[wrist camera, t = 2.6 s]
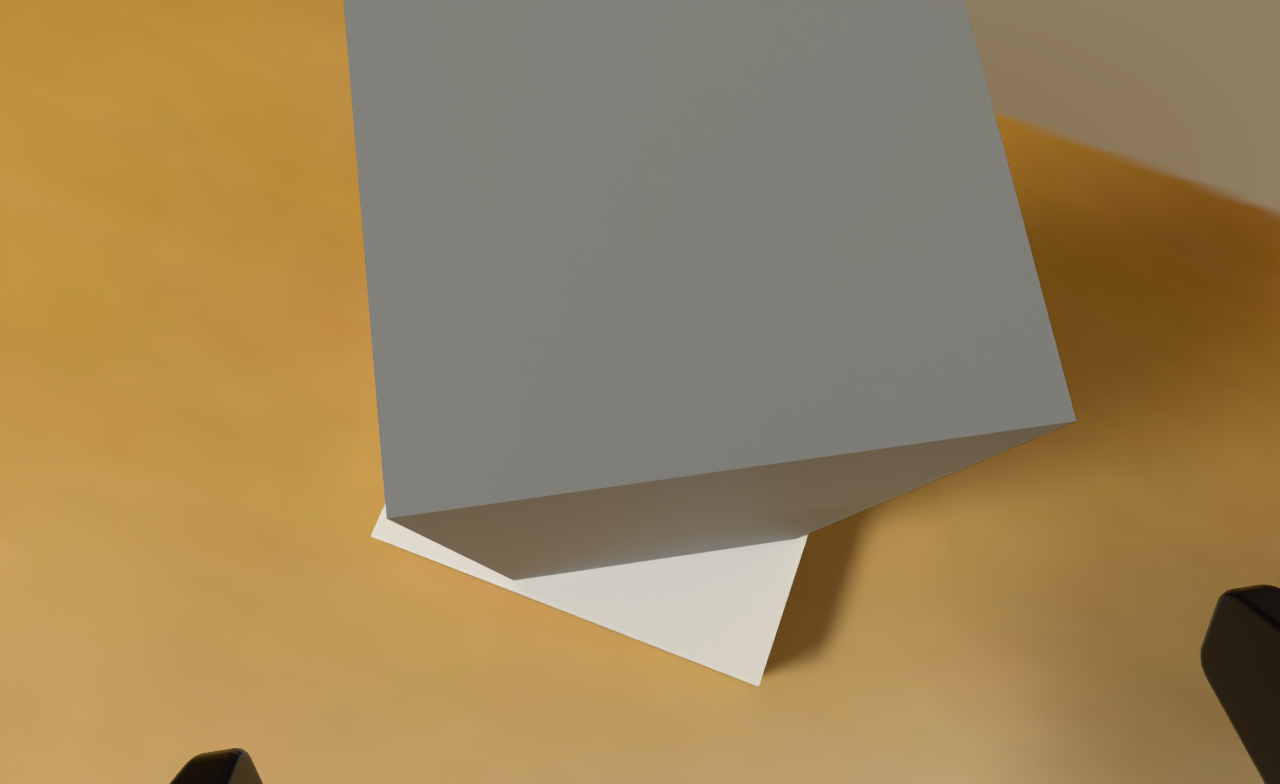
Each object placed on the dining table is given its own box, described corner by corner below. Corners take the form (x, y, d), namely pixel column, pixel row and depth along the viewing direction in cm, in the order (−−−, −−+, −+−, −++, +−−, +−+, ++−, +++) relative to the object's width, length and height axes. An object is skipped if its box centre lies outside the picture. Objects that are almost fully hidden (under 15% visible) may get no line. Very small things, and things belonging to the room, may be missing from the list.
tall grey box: (796, 538, 18) (1076, 421, 8) (514, 580, 18) (387, 518, 7) (747, 275, 20) (926, -143, 9) (482, 308, 19) (337, -91, 8)
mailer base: (859, 336, 21) (938, 249, 16) (746, 681, 19) (797, 702, 14) (532, 215, 21) (512, 95, 16) (387, 542, 19) (317, 516, 14)
